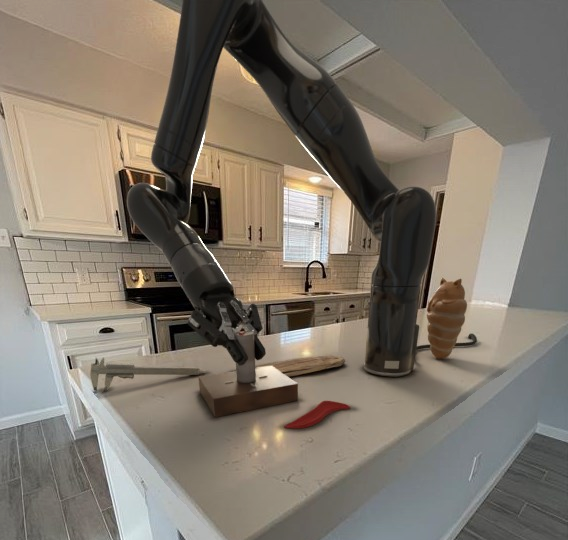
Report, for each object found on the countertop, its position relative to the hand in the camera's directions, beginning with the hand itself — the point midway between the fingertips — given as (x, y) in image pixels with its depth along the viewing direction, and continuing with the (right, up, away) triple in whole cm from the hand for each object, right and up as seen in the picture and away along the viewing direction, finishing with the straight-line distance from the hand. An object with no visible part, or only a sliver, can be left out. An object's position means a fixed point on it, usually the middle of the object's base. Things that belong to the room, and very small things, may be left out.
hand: (253, 359), depth 52 cm
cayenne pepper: (+10, -9, -4) cm, 14 cm away
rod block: (-1, -6, +4) cm, 7 cm away
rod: (-1, -3, +3) cm, 4 cm away
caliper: (-20, -4, +11) cm, 23 cm away
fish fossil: (+6, -1, +17) cm, 18 cm away
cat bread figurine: (+42, +2, +24) cm, 48 cm away
